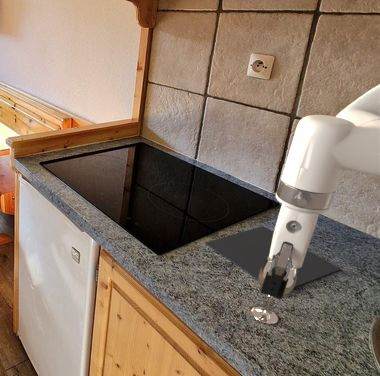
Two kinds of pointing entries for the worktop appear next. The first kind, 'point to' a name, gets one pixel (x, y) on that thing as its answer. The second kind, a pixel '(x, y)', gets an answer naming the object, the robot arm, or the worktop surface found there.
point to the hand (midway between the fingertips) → (275, 280)
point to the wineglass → (265, 313)
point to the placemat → (266, 255)
